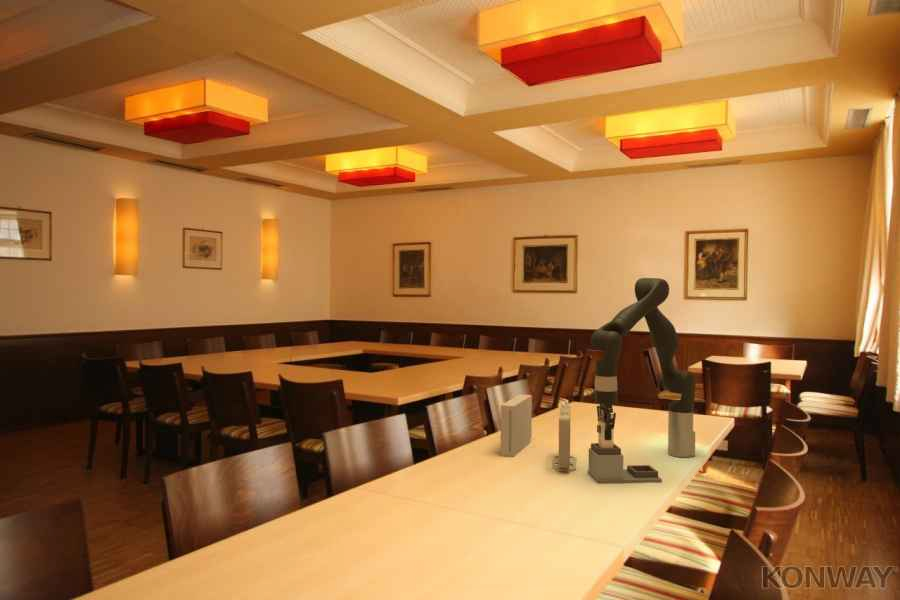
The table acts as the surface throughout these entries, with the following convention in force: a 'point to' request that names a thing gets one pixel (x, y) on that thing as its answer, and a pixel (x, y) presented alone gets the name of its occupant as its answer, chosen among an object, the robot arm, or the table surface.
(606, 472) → the grey stepped block
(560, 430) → the network device
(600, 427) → the plug
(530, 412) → the game console
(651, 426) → the table surface
